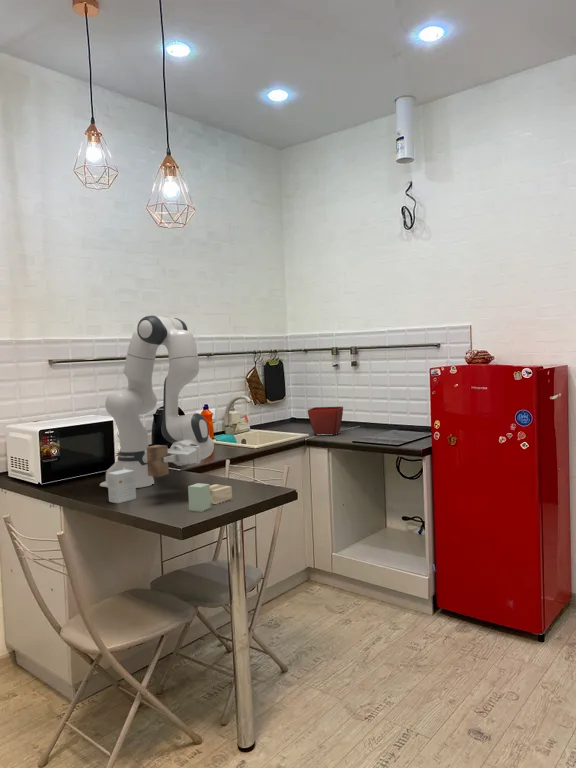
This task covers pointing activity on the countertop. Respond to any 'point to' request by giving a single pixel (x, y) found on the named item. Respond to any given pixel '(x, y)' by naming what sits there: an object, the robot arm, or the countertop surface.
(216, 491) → the beech block
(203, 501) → the sage green block
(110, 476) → the small box
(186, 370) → the robot arm
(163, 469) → the walnut block
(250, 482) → the countertop surface
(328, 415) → the plant pot
